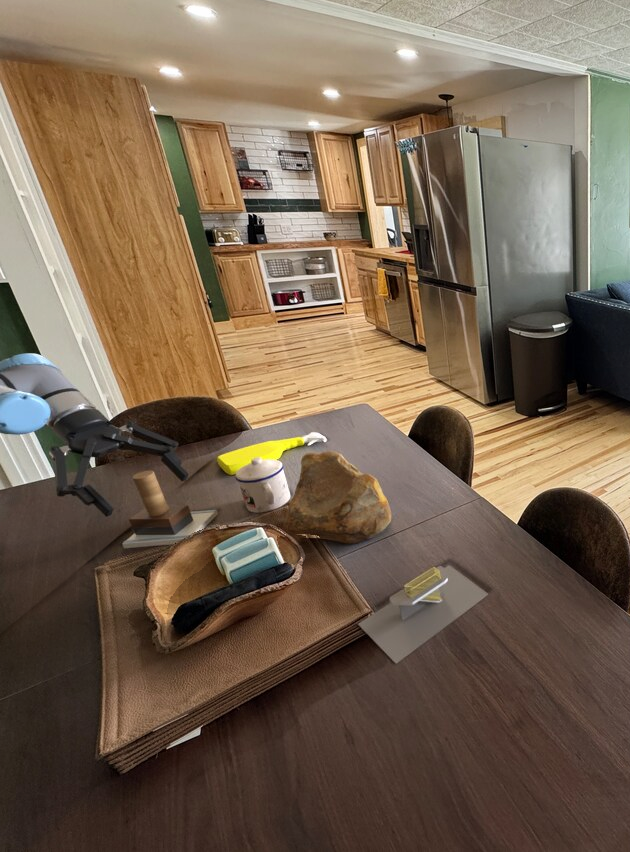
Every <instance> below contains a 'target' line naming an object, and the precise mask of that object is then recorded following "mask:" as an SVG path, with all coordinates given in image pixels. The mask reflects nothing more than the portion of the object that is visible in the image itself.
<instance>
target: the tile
mask: <svg viewBox="0 0 630 852" xmlns="http://www.w3.org/2000/svg"><path fill="white" fill-rule="evenodd" d="M190 512H191V515H192V517H193V521H192V522H191V523H189V524H188V525H187V526H186V527H184V528H183V529H182V530H181V531H179V532H178V533H177V534H176V535H136V534H135V532H133V534H132V535H130V536H129V537H128V538H127V539H126V540H124V541H123V542H122V544H121V545H122V547H123V549H134V548H146V547H156V546H157V547H158V546H168V545H170V546H171V545H176V544H175V543H177V542H178V541H180V540H182V539H184V538H186V537H188V536H189V535H191V534H192V533H194V532H197V531H199V530H202V529H203V530H204V529H205V528H206V527H207V526H208V525H209V524H210V523H211V522H212V521H213V520H214V519H215V518H216V517H217V516H218V515H219V513H218V510H217V509H209V510H195V511H190ZM203 530H202V531H203Z"/></svg>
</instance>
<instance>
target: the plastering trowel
mask: <svg viewBox="0 0 630 852" xmlns="http://www.w3.org/2000/svg"><path fill="white" fill-rule="evenodd" d="M403 587H404V588H402V589H401V590H399V591H398V592H396V593H394V594H393V595H391V596H389V603H388V604H386V605H384V606H383V607H381V608H380V609H379V610H377V611H375V612H374V613H372V614H371V615H369V616H368V617H366V618H365V619H363V620H361V621H360V622H359V623H357V625H358V626H359V627H360V628H361V629H362V630H363V631H364V632H365V633H366V635H368V636H369V637H370V639H372V641H373V642H374V643H375V644H376V646H378V647H379V648H380V650H382V651H383V652H384V653H385V654H386V655H387V657H389V658H390V659H391V660H392V662H394V664H396V665H398V663H399V662H401V661H402V660H404V659H405V658H406V657H408V656H409V655H410V654H411V653H413V652H414V651H416V650H417V649H418V648H420V647H421V646H422V645H424V644H425V643H426V642H427V641H429V640H431V639H432V638H433V637H434V636H435V635H437V634H438V633H440V632H441V631H442V630H443V629H445V628H446V627H448V626H449V625H450V624H452V623H453V622H454V621H456V620H457V619H458V618H460V617H461V616H462V615H463V614H465V613H466V612H468V611H469V610H470V609H471V608H473V607H474V606H476V605H477V604H478V603H480V602H481V601H482V600H483V599H485V598H486V597H488V596H489V593H488V592H486V591H485V590H484V589H482V588H481V587H480V586H478V585H477V584H476V583H474V581H471V580H470V579H468V578H467V577H466V576H465V575H463V574H462V573H461V572H460V571H458V570H456V569H455V568H454V567H453V566H451V565H447V566H446V567H444V566H442V565H439V566H437V567H435V566H433V567H431V568H430V569H428V570H427V571H425V572H423V573H422V574H420V575H419V576H417V577H415V578H413V579H412V580H411V581H409V582H407V583H406V584H404V585H403Z"/></svg>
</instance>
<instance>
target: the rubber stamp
mask: <svg viewBox="0 0 630 852" xmlns="http://www.w3.org/2000/svg"><path fill="white" fill-rule="evenodd" d="M132 480H133V482H134V484H135V487H136V490H137V492H138V495H139V496H140V498H141V500H142V503H143V505H144V508H143V509H141V510H140V511H138V512H137V513H135V514H134V515H132V516H131V517H130V518H128V521H129V523H130V525H131V527H132V530H133V533H135V534H136V535H176V534H177V533H178V532H179V531H181V530H182V529H183V528H184V527H186V526H187V525H188V524H189V523H191V522H192V521H193V517H192V515H191V512H192V511H191V510H190V507H189V504H168V502H167V501H166V498H165V496H164V495H165V494H164V493H163V490H162V488H161V486H160V484H159V480H158V478H157V476H156V473H155V471H153V470H144V471H140V472H138V473H136V474H134V475H133V476H132Z"/></svg>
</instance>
